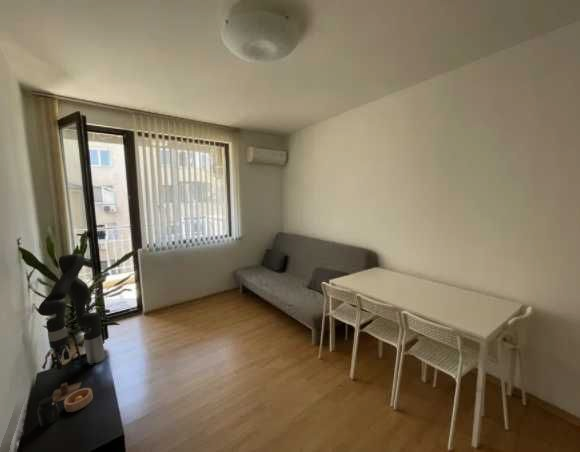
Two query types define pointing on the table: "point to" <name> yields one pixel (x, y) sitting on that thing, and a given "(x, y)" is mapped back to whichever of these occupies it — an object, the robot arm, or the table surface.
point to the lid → (65, 391)
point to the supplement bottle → (48, 412)
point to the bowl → (74, 406)
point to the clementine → (78, 398)
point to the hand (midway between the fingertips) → (63, 364)
